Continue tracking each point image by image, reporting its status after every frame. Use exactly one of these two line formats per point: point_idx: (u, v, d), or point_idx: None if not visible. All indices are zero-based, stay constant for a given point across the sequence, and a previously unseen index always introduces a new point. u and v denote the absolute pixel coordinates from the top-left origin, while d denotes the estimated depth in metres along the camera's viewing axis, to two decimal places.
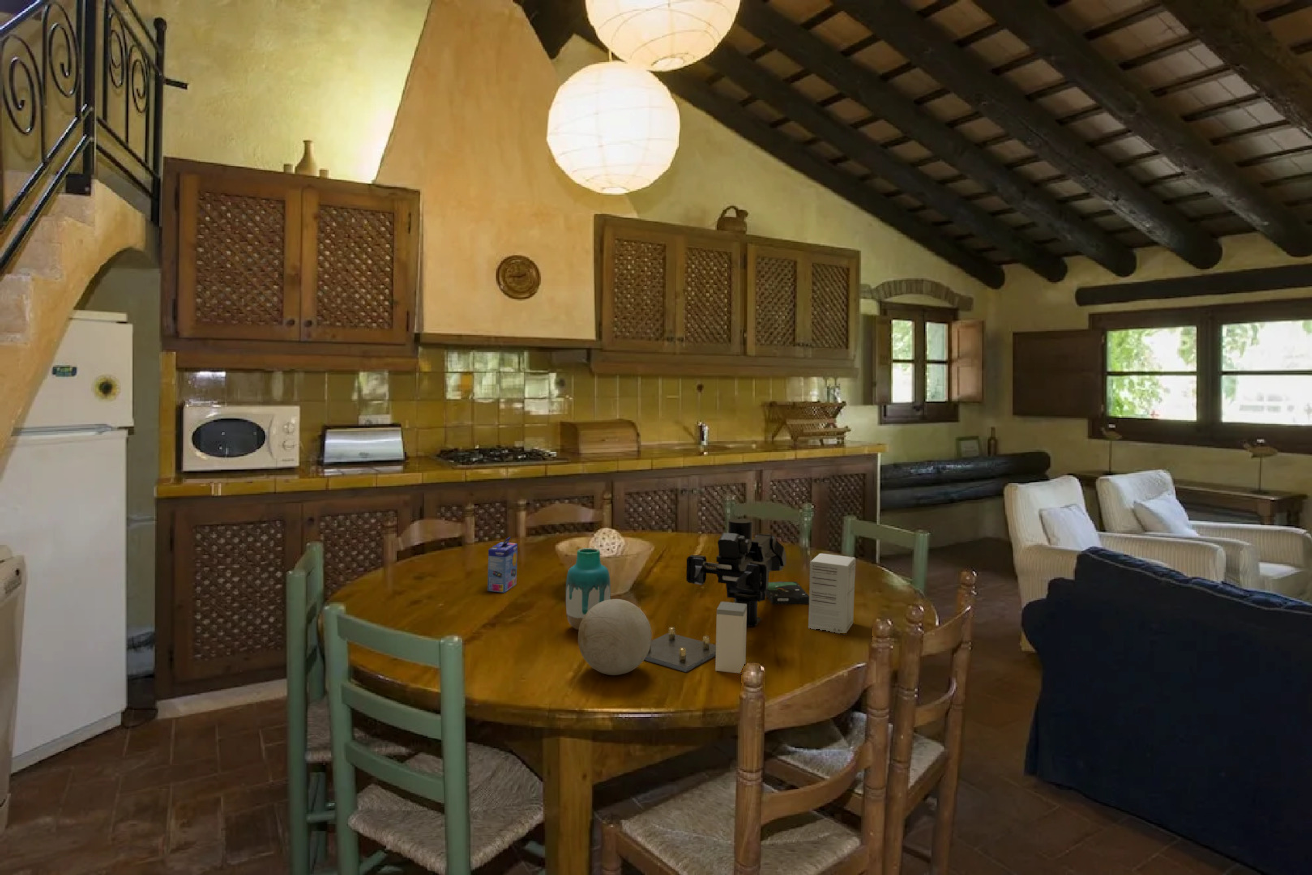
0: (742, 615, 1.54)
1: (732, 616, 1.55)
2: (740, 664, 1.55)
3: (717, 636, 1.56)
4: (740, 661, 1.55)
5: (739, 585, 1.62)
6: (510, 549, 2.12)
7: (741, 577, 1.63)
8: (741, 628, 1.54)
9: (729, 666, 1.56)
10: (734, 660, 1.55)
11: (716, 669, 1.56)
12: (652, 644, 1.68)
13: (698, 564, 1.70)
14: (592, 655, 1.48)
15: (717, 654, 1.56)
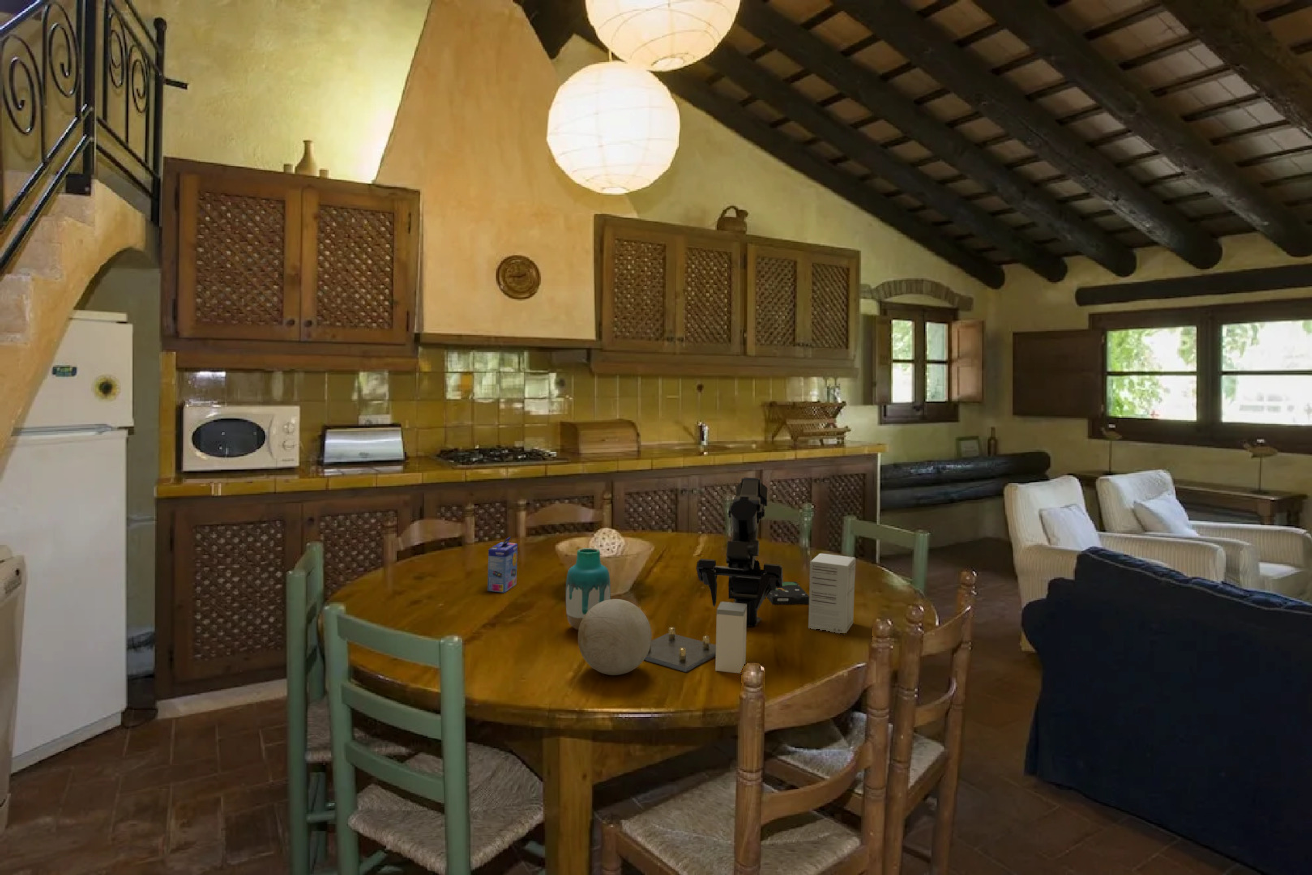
0: (742, 615, 1.54)
1: (732, 616, 1.55)
2: (740, 664, 1.55)
3: (717, 636, 1.56)
4: (740, 661, 1.55)
5: (759, 606, 1.62)
6: (510, 549, 2.12)
7: (759, 596, 1.62)
8: (741, 628, 1.54)
9: (729, 666, 1.56)
10: (734, 660, 1.55)
11: (716, 669, 1.56)
12: (652, 644, 1.68)
13: (710, 577, 1.66)
14: (592, 655, 1.48)
15: (717, 654, 1.56)
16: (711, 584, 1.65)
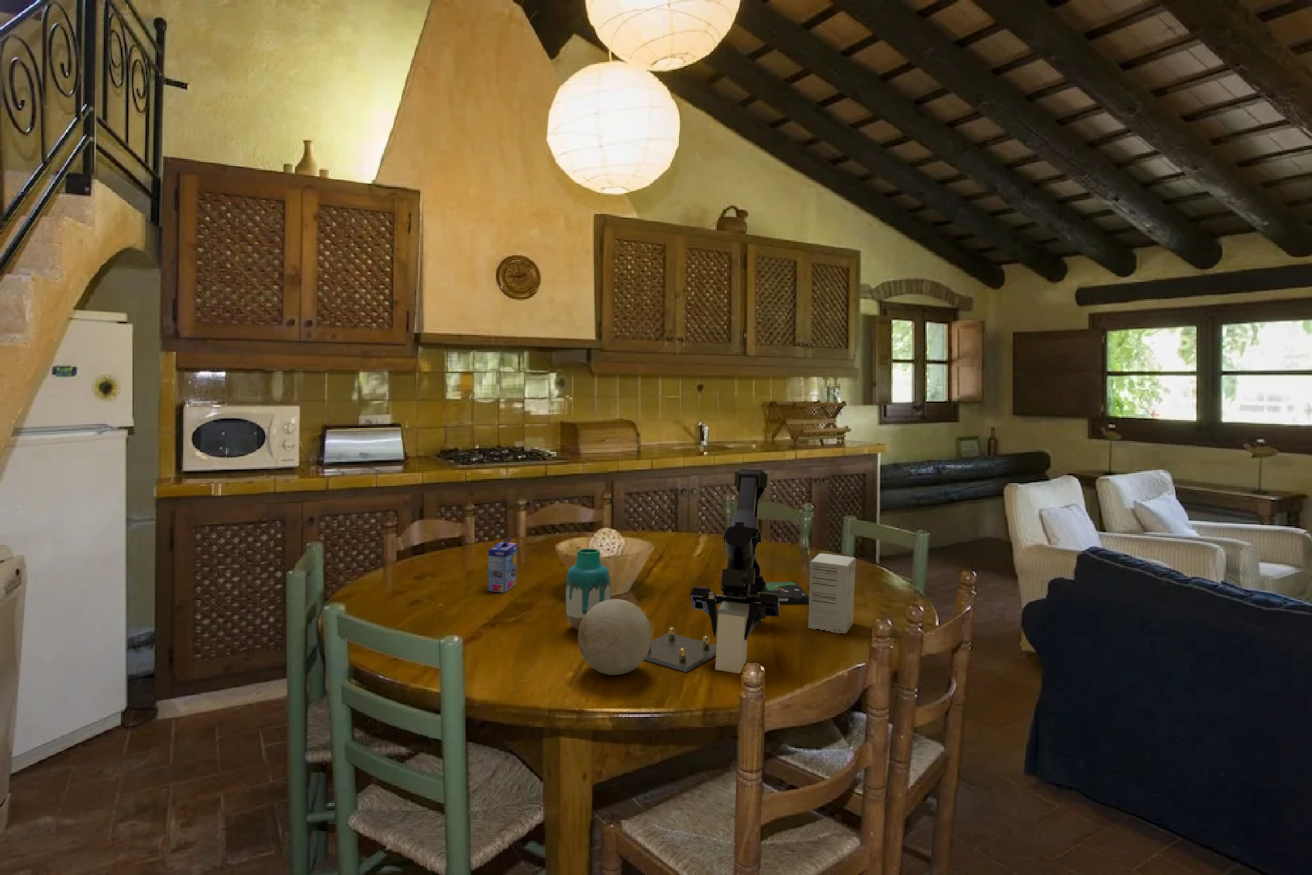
0: (743, 616, 1.54)
1: (733, 616, 1.54)
2: (740, 664, 1.55)
3: (718, 635, 1.56)
4: (740, 661, 1.55)
5: (748, 636, 1.56)
6: (510, 549, 2.12)
7: (748, 626, 1.56)
8: (742, 628, 1.54)
9: (729, 666, 1.56)
10: (734, 660, 1.55)
11: (716, 668, 1.56)
12: (652, 644, 1.68)
13: (711, 606, 1.60)
14: (592, 655, 1.48)
15: (717, 653, 1.56)
16: (712, 614, 1.59)
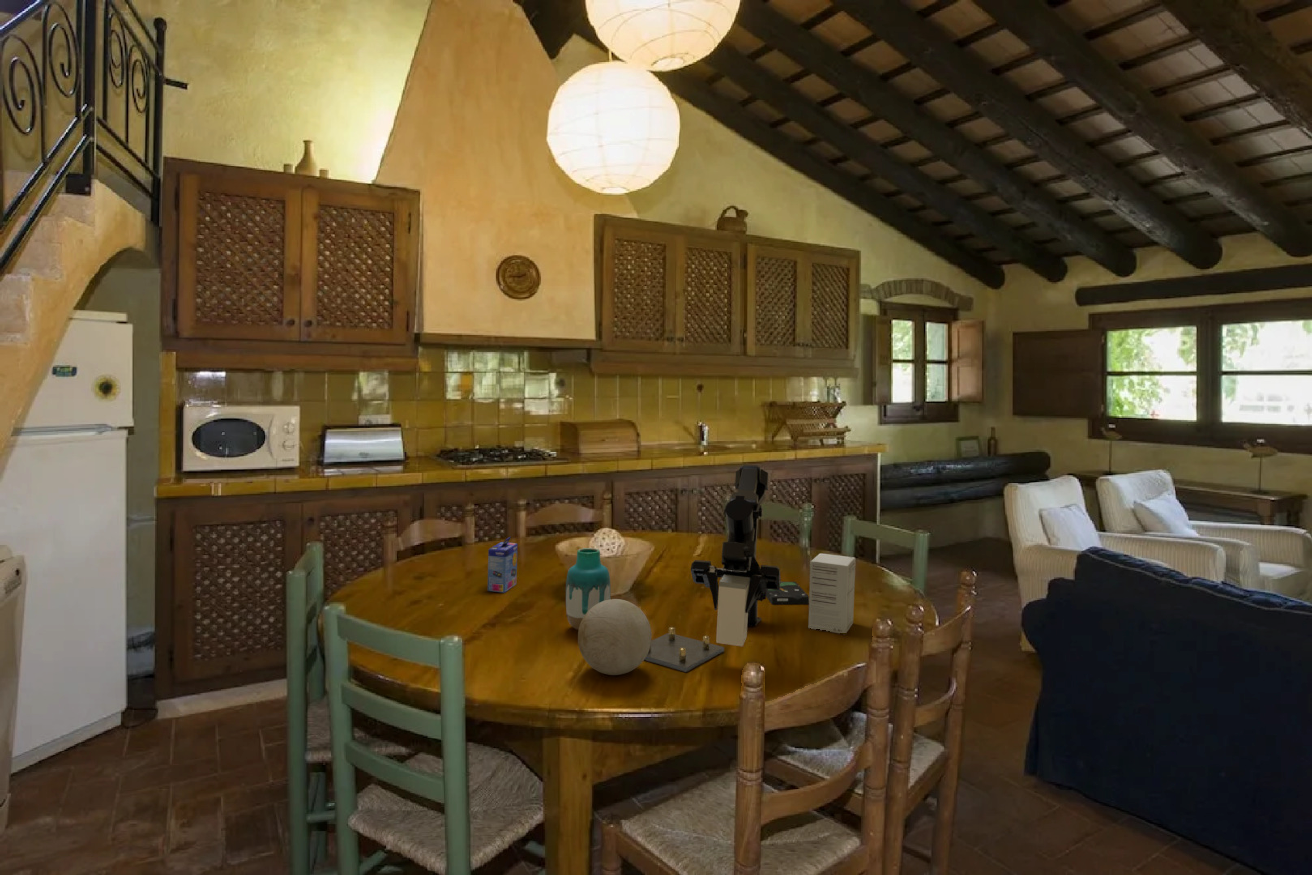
0: (744, 588, 1.54)
1: (734, 589, 1.54)
2: (741, 637, 1.55)
3: (719, 608, 1.55)
4: (741, 634, 1.55)
5: (749, 609, 1.56)
6: (510, 549, 2.12)
7: (749, 599, 1.56)
8: (743, 601, 1.54)
9: (730, 639, 1.55)
10: (735, 633, 1.55)
11: (717, 641, 1.56)
12: (652, 644, 1.68)
13: (712, 580, 1.59)
14: (592, 655, 1.48)
15: (718, 626, 1.56)
16: (712, 587, 1.59)
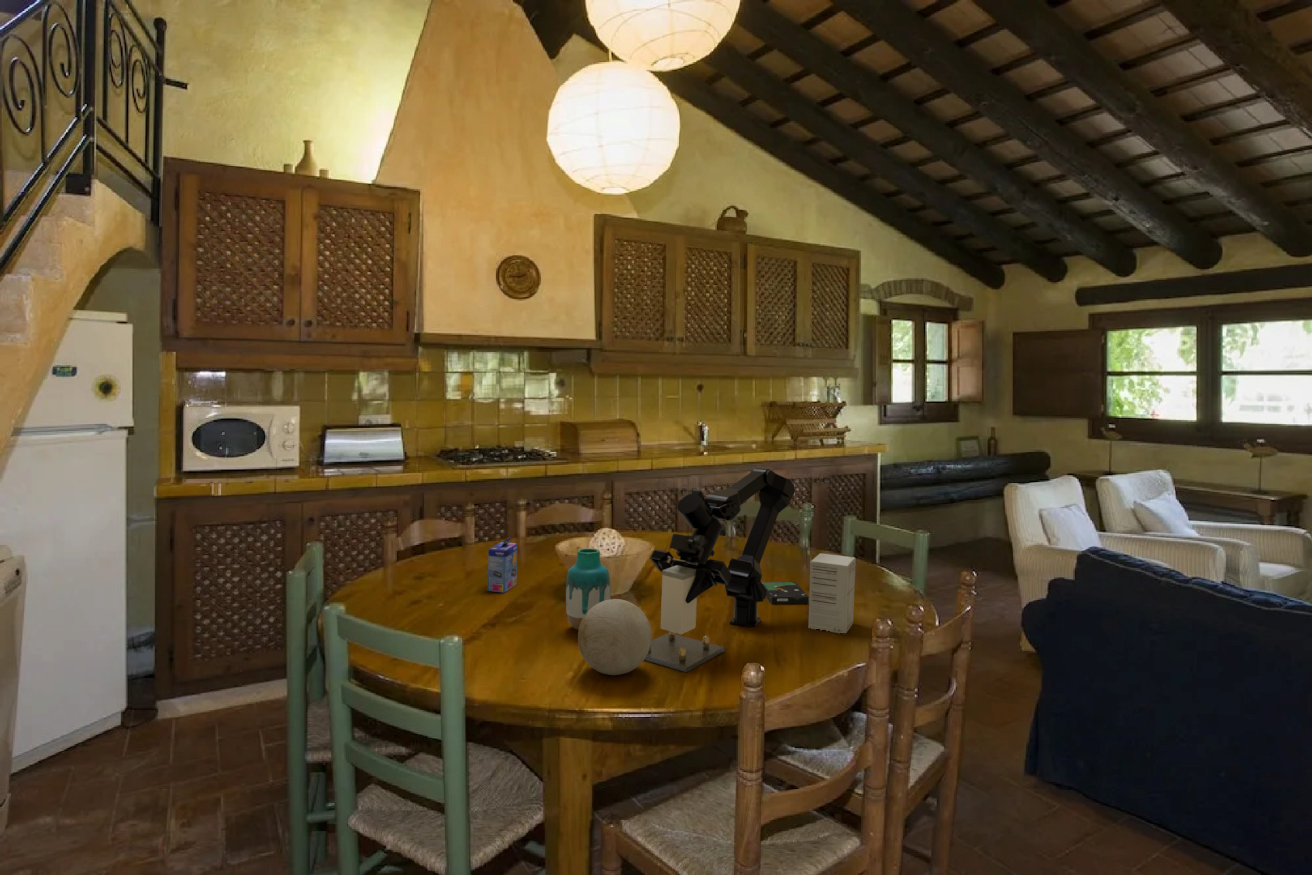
0: (682, 579, 1.60)
1: (674, 578, 1.61)
2: (680, 625, 1.61)
3: (662, 596, 1.64)
4: (680, 622, 1.61)
5: (690, 599, 1.62)
6: (510, 549, 2.12)
7: (691, 590, 1.62)
8: (681, 591, 1.60)
9: (671, 626, 1.63)
10: (675, 621, 1.62)
11: (661, 627, 1.65)
12: (652, 644, 1.68)
13: None
14: (592, 655, 1.48)
15: (662, 613, 1.64)
16: None
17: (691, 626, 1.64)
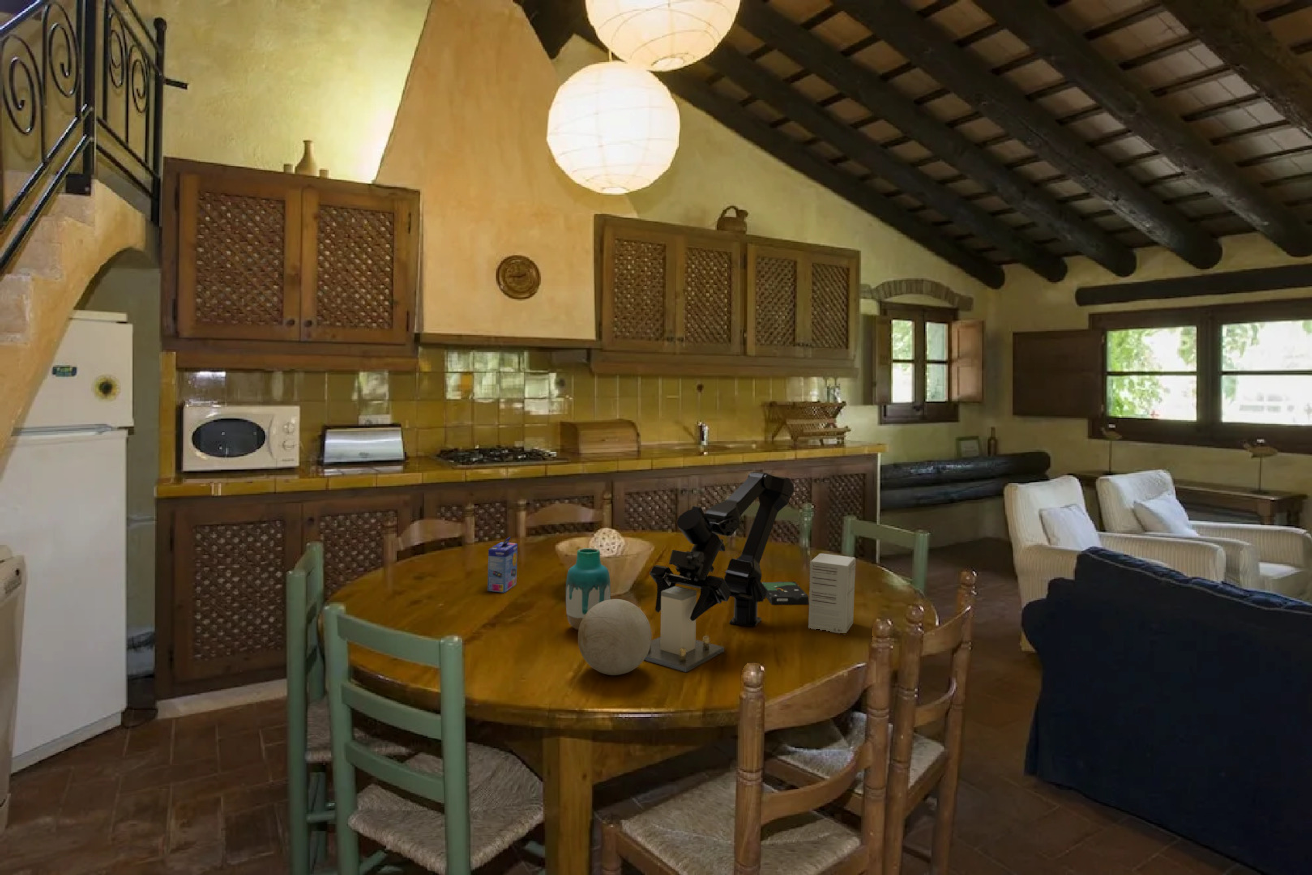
0: (681, 599, 1.61)
1: (673, 599, 1.62)
2: (679, 646, 1.62)
3: (661, 617, 1.64)
4: (679, 643, 1.62)
5: (695, 617, 1.62)
6: (510, 549, 2.12)
7: (696, 608, 1.61)
8: (680, 612, 1.61)
9: (671, 647, 1.63)
10: (675, 642, 1.63)
11: (661, 648, 1.65)
12: (652, 644, 1.68)
13: (659, 584, 1.69)
14: (592, 655, 1.48)
15: (661, 634, 1.65)
16: (659, 590, 1.68)
17: (691, 647, 1.65)
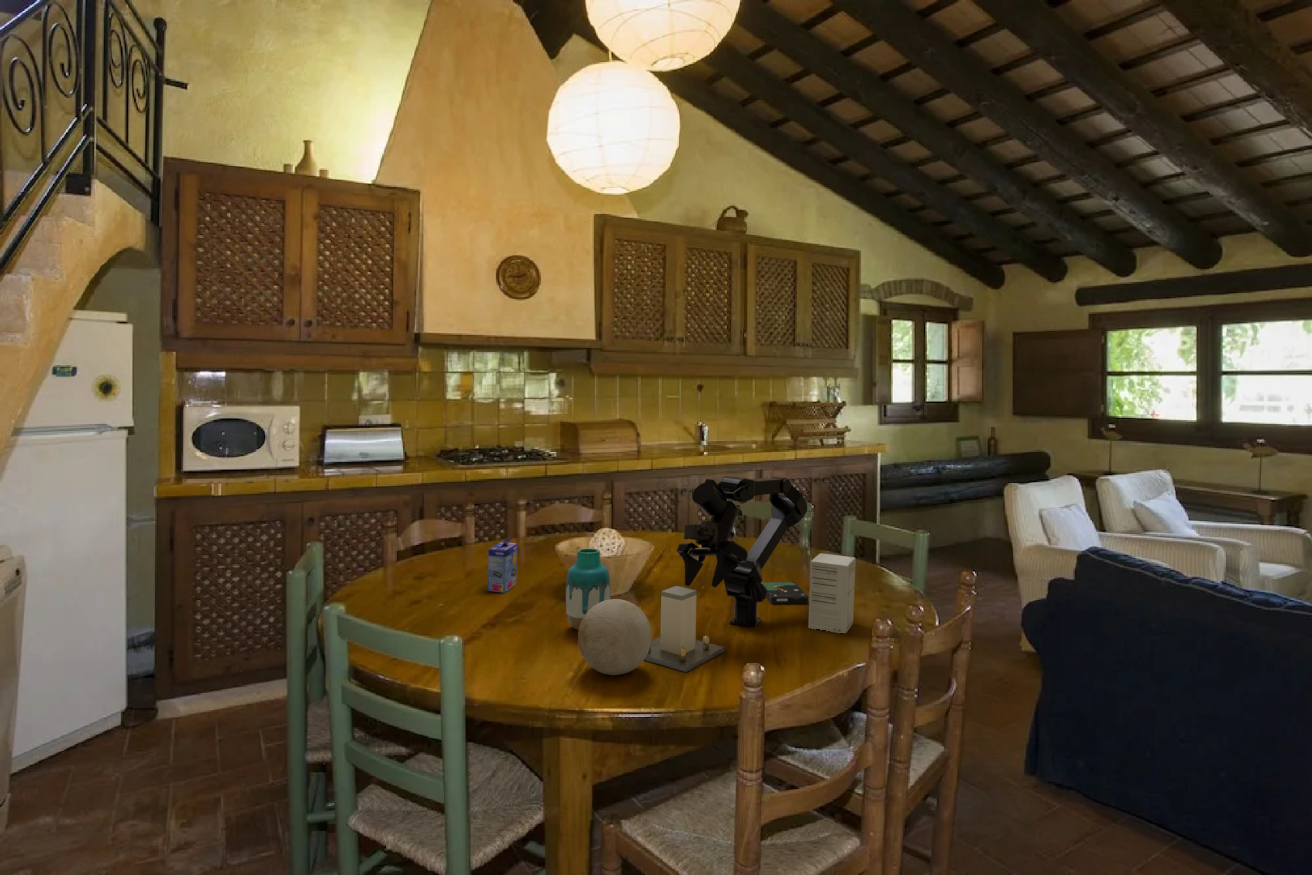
0: (681, 599, 1.61)
1: (673, 599, 1.62)
2: (679, 646, 1.62)
3: (661, 617, 1.64)
4: (679, 643, 1.62)
5: (717, 583, 1.67)
6: (510, 549, 2.12)
7: (715, 574, 1.67)
8: (680, 612, 1.61)
9: (671, 647, 1.63)
10: (675, 642, 1.63)
11: (661, 648, 1.65)
12: (652, 644, 1.68)
13: (685, 559, 1.77)
14: (592, 655, 1.48)
15: (661, 634, 1.65)
16: (686, 566, 1.76)
17: (691, 647, 1.65)
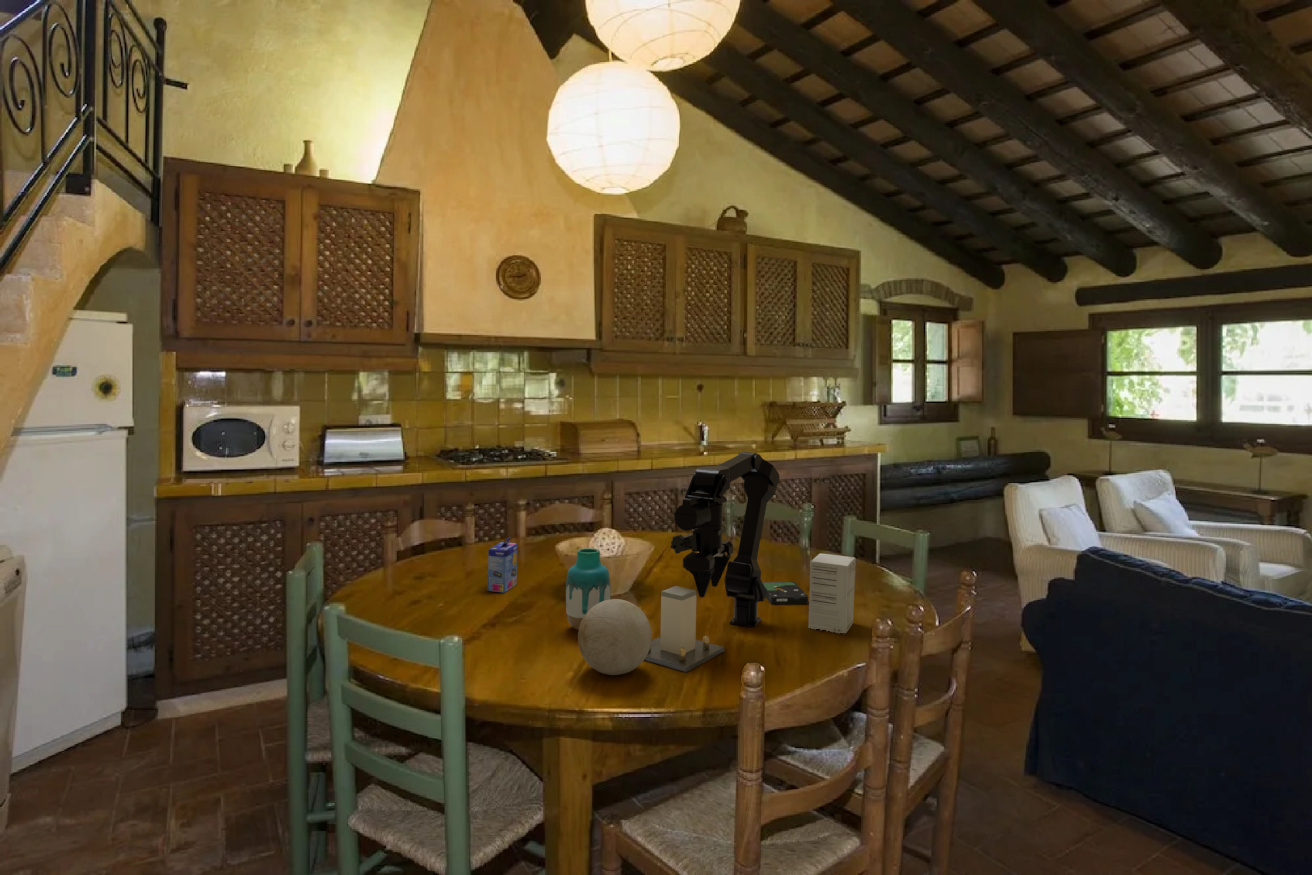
0: (681, 599, 1.61)
1: (673, 599, 1.62)
2: (679, 646, 1.62)
3: (661, 617, 1.64)
4: (679, 643, 1.62)
5: (702, 593, 1.67)
6: (510, 549, 2.12)
7: None
8: (680, 612, 1.61)
9: (671, 647, 1.63)
10: (675, 642, 1.63)
11: (661, 648, 1.65)
12: (652, 644, 1.68)
13: None
14: (592, 655, 1.48)
15: (661, 634, 1.65)
16: None
17: (691, 647, 1.65)
